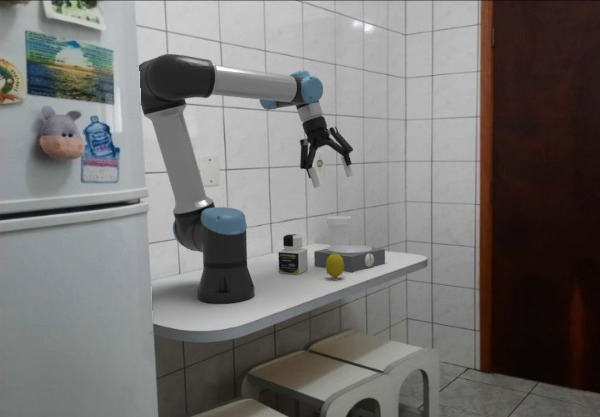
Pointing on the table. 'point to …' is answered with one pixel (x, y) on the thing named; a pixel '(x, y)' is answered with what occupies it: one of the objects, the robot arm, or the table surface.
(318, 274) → the table surface
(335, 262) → the lemon
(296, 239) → the medicine bottle
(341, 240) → the clear plastic beaker
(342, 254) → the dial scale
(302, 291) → the table surface
